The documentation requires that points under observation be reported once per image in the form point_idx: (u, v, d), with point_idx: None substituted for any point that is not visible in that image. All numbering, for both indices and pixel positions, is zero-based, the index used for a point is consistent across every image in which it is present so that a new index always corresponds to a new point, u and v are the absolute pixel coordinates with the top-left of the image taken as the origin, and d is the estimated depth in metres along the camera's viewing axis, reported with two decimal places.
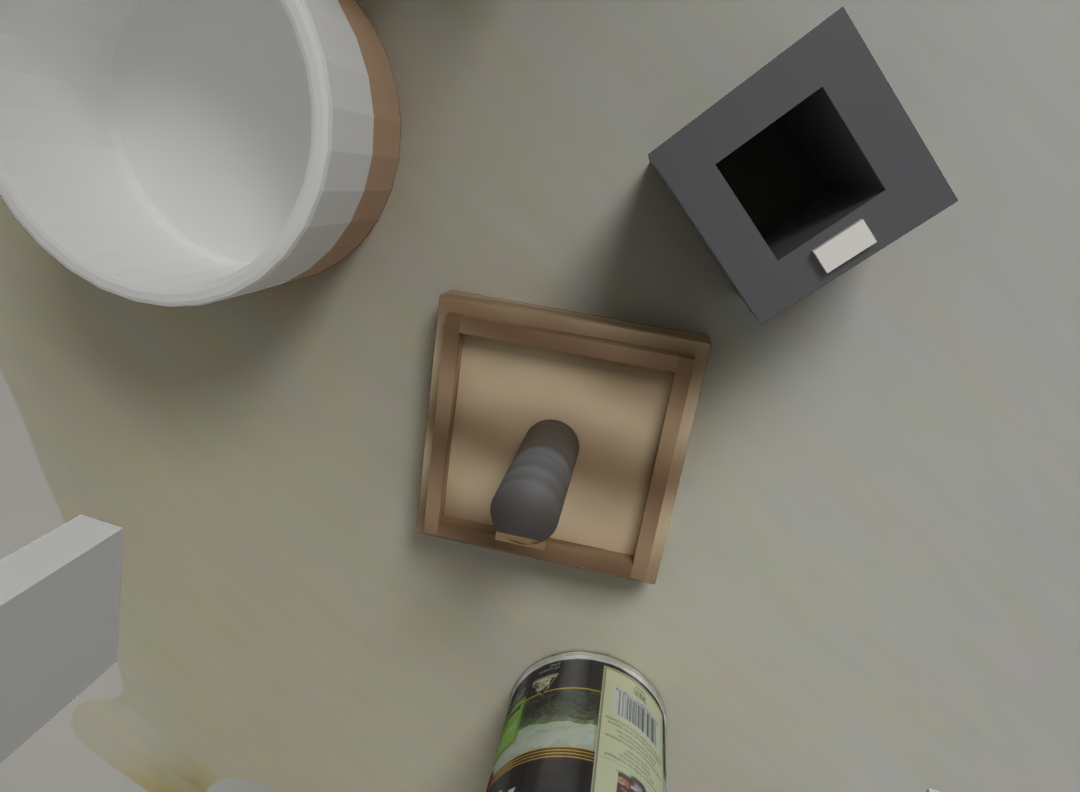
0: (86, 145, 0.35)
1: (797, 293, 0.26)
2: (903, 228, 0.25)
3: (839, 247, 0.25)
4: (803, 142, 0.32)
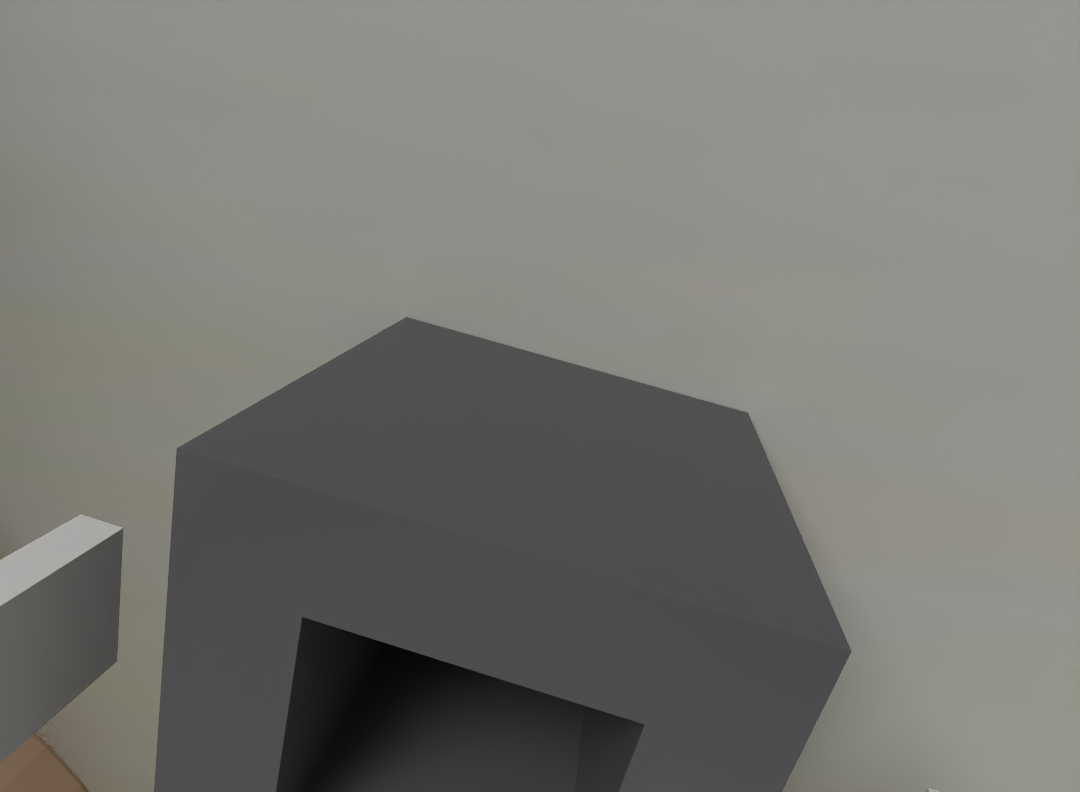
0: None
1: None
2: (769, 775, 0.08)
3: None
4: None
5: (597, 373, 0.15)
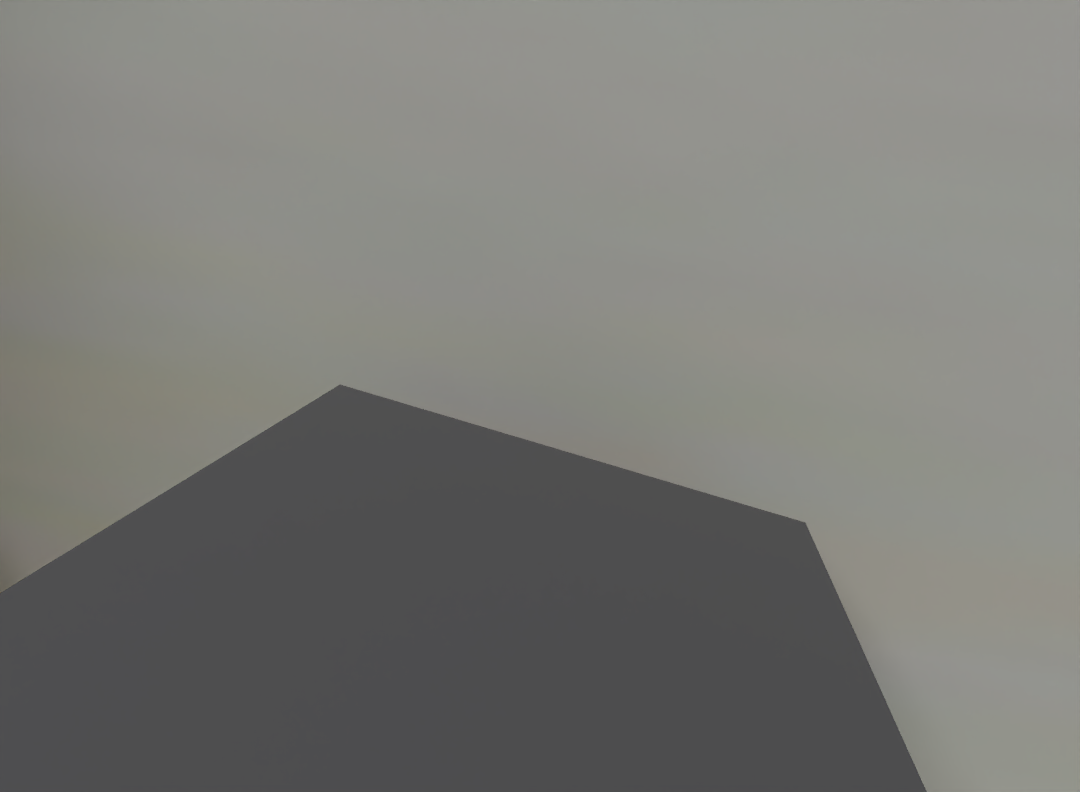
0: None
1: None
2: None
3: None
4: None
5: (597, 466, 0.11)
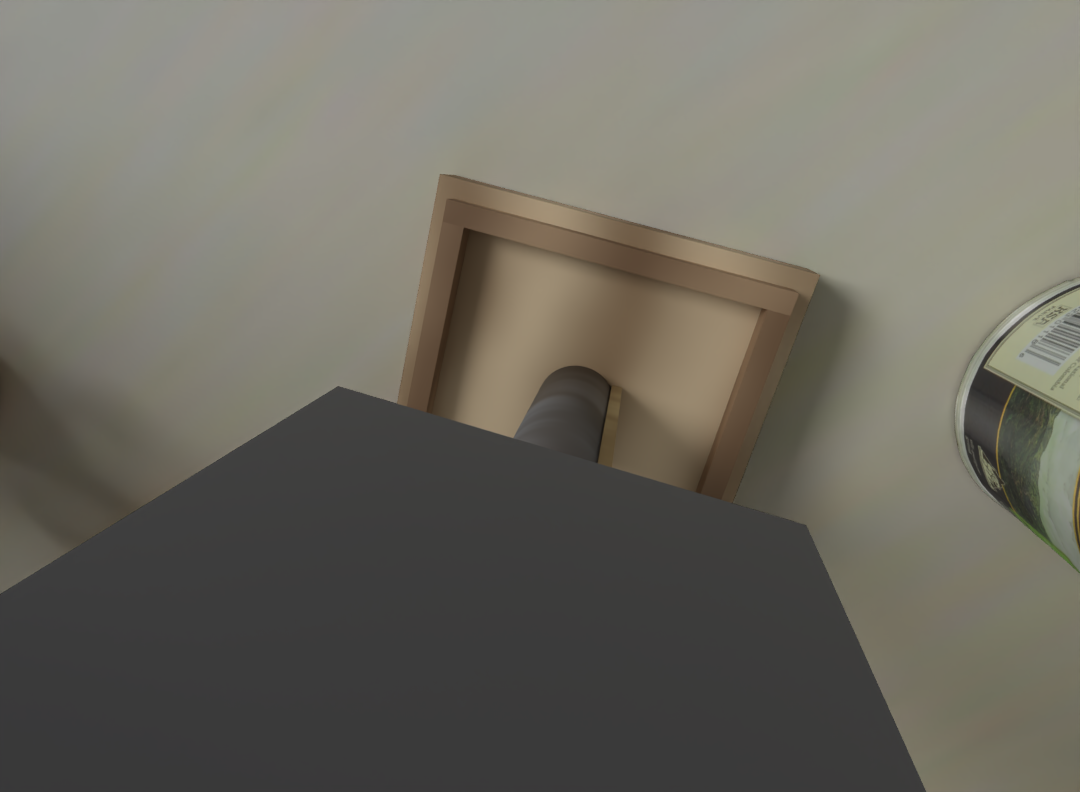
0: None
1: None
2: None
3: None
4: None
5: (597, 468, 0.11)
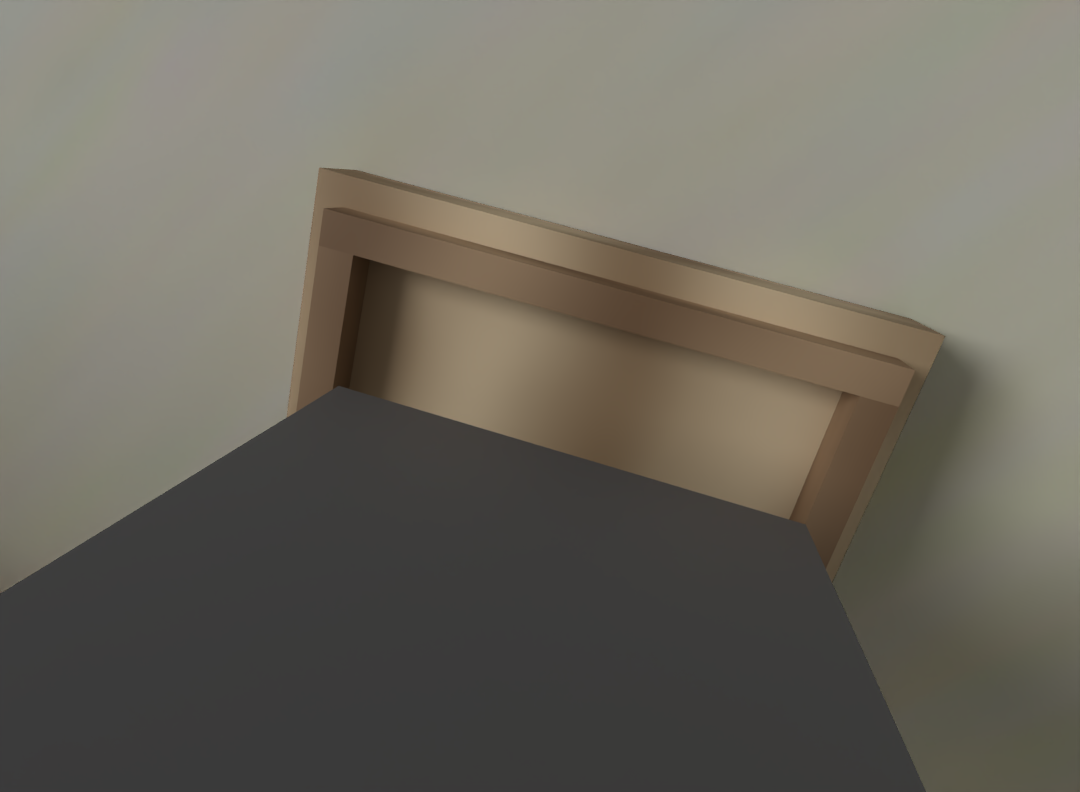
0: None
1: None
2: None
3: None
4: None
5: (597, 467, 0.11)
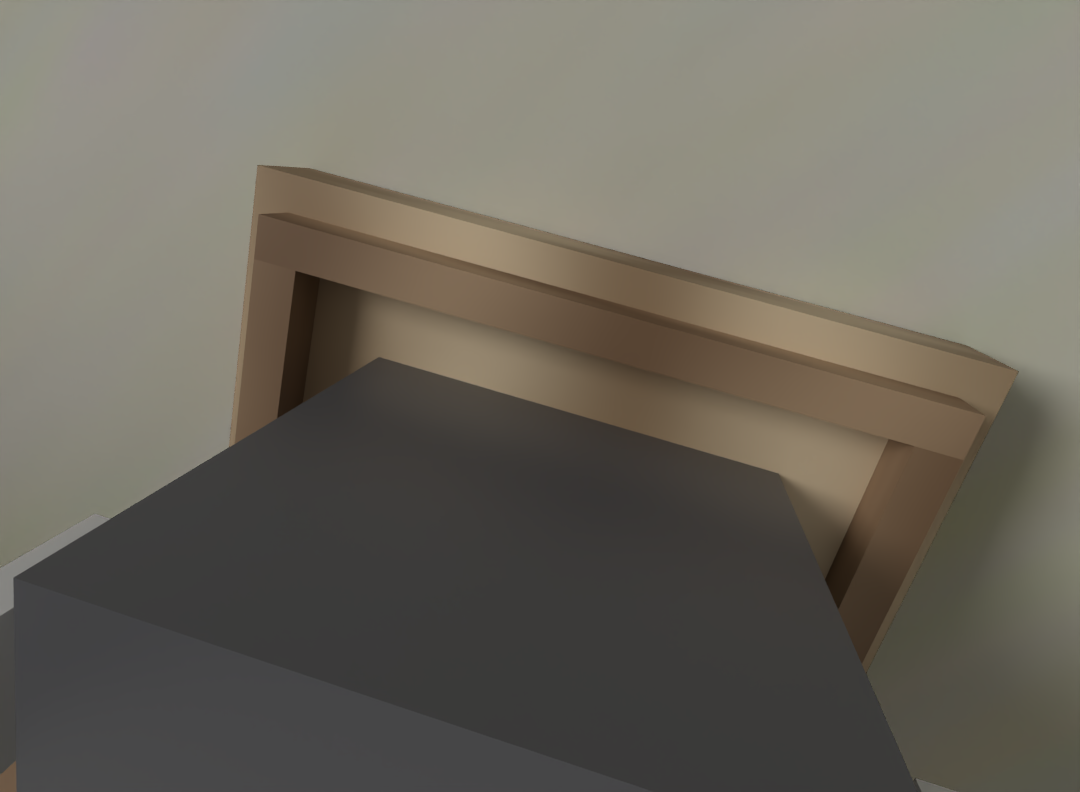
0: None
1: None
2: None
3: None
4: None
5: (601, 425, 0.13)
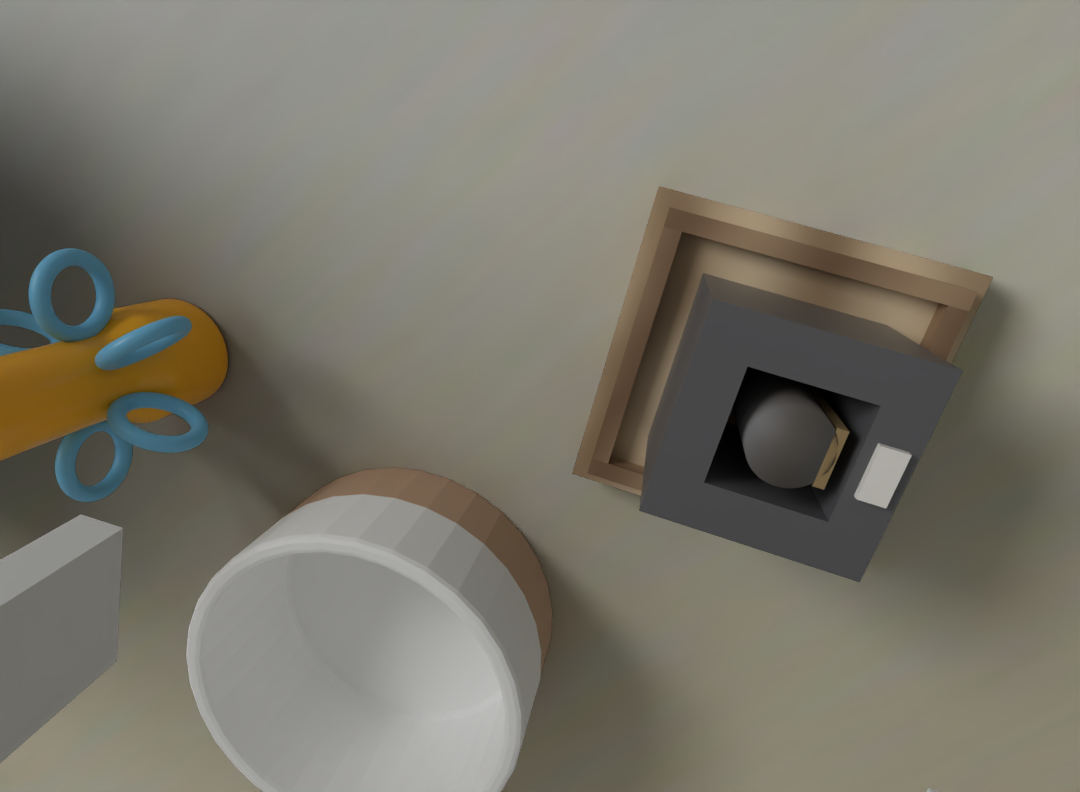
0: (406, 744, 0.39)
1: (871, 537, 0.23)
2: (928, 425, 0.22)
3: (878, 481, 0.22)
4: None
5: (807, 302, 0.29)
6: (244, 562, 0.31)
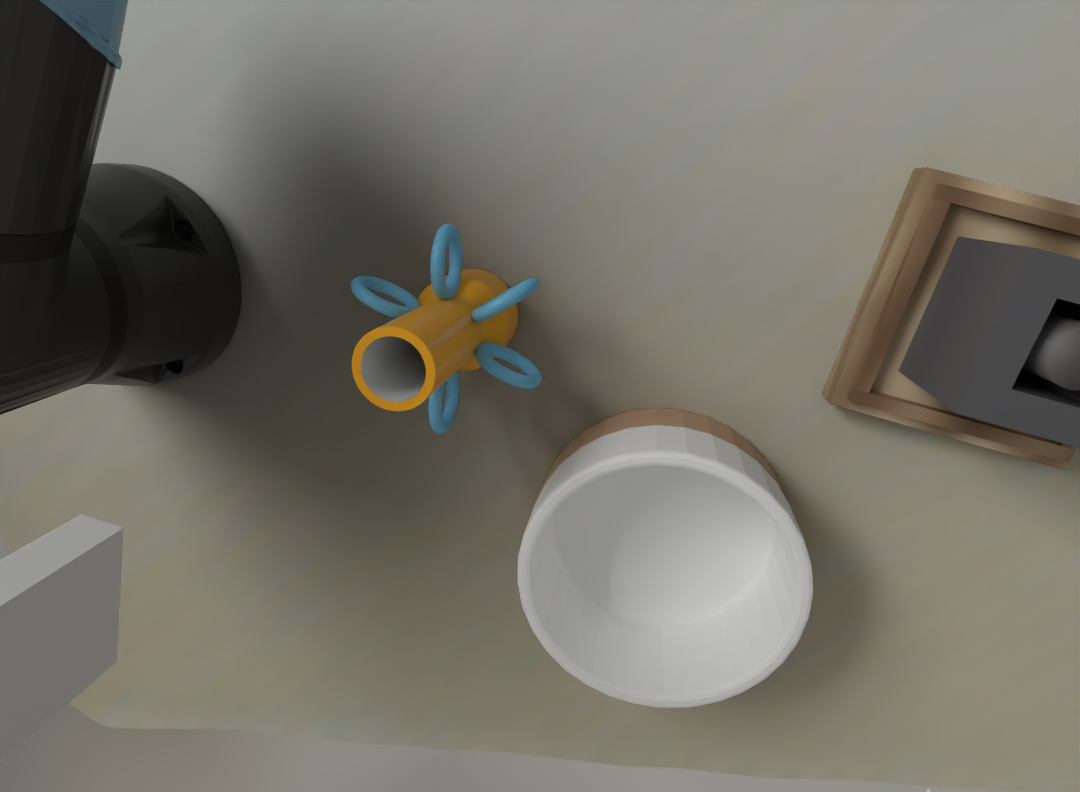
0: (660, 641, 0.47)
1: None
2: None
3: None
4: None
5: None
6: (585, 476, 0.38)
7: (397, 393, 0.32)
